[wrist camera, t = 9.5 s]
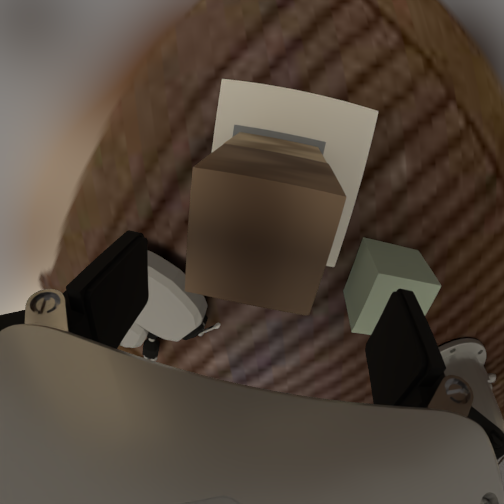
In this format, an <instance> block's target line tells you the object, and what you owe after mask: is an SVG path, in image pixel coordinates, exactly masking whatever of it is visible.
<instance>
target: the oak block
mask: <svg viewBox="0 0 504 504" xmlns="http://www.w3.org/2000/svg"><path fill="white" fill-rule="evenodd" d="M224 144H231V145H237V146H244V147H250V148H255V149H261V150H267V151H272V152H277V153H282V154H287V155H292V156H297V157H302V158H306V159H311V160H315V161H320V162H324V163H327V162H326V160H325V159H324V157H323V155H322V153H321V151H320V150H319V148H318V147H315V146H311V145H306V144H302V143H297V142H292V141H287V140H282V139H277V138H272V137H266V136H261V135H255V134H249V133H243V132H239V133H238V134H236V135H235V136H233V137H232V138H231V139H229V140H228V141H226V142H225V143H224Z"/></svg>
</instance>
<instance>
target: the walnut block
mask: <svg viewBox="0 0 504 504" xmlns="http://www.w3.org/2000/svg"><path fill="white" fill-rule="evenodd" d="M345 201H346V195H345V193H344V191H343V189H342V187H341V185H340V183H339V182H338V180H337V178H336V176H335V174H334V172H333V171H332V169H331V167H330V165H329V164H328V163H324V162H320V161H315V160H311V159H306V158H302V157H297V156H292V155H287V154H282V153H277V152H272V151H267V150H261V149H255V148H250V147H244V146H237V145H231V144H223V145H222V146H220V147H219V148H218V149H216V150H215V151H214V152H212V153H211V154H210V155H208V156H207V157H206V158H204V159H203V160H202V161H200V162H199V163H198V164H197V165H195V166H194V167H193V172H192V183H191V195H190V207H189V221H188V236H187V253H186V274H185V291H186V292H191V293H195V294H200V295H204V296H209V297H214V298H218V299H223V300H228V301H233V302H238V303H243V304H247V305H253V306H258V307H263V308H268V309H273V310H279V311H284V312H290V313H295V314H301V315H307V316H309V313H310V311H311V308H312V305H313V302H314V299H315V296H316V293H317V291H318V288H319V285H320V282H321V279H322V276H323V273H324V270H325V267H326V264H327V261H328V257H329V254H330V251H331V248H332V245H333V242H334V238H335V235H336V232H337V228H338V225H339V222H340V218H341V215H342V211H343V208H344V204H345Z"/></svg>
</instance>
